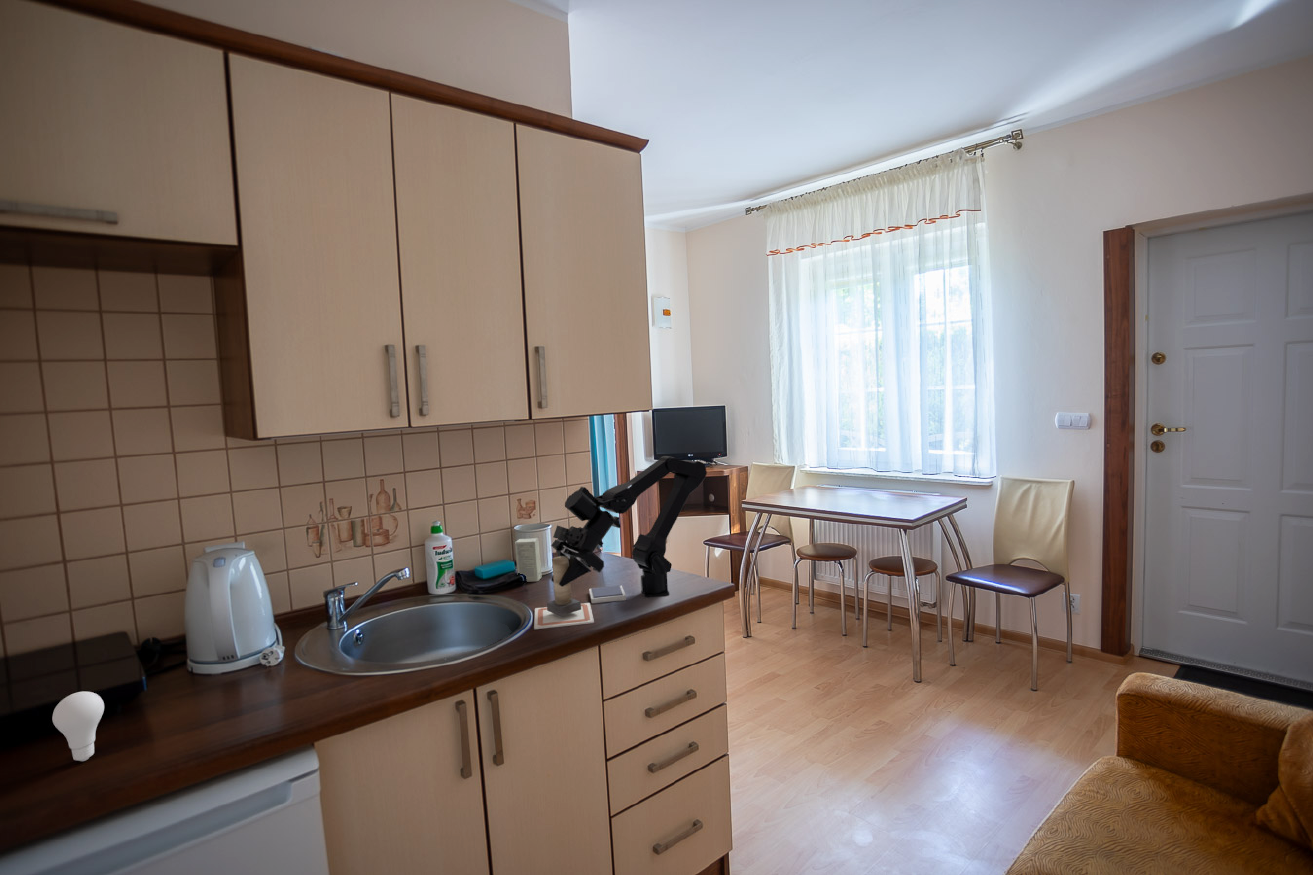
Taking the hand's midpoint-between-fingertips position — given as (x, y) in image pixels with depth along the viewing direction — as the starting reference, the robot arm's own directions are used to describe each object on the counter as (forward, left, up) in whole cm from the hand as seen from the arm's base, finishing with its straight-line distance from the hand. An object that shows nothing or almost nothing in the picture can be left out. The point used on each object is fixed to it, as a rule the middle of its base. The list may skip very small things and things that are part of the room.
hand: (556, 583), depth 157 cm
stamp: (-1, -1, -7) cm, 7 cm away
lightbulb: (+76, +44, -9) cm, 88 cm away
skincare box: (+8, -35, -9) cm, 37 cm away
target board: (-1, 0, -8) cm, 9 cm away
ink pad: (-13, -12, -8) cm, 20 cm away
